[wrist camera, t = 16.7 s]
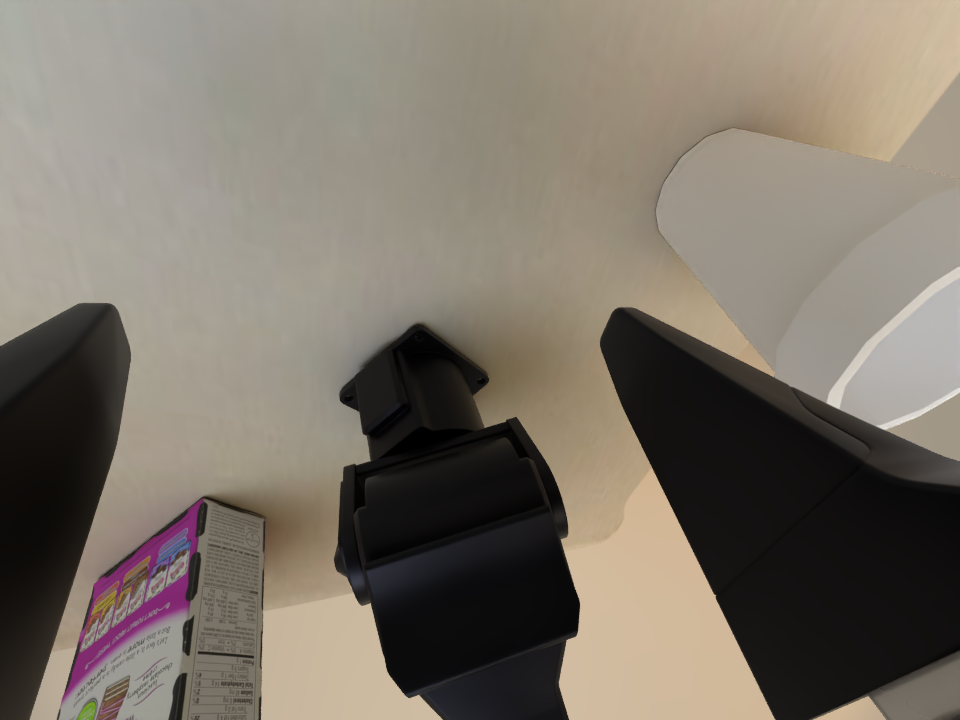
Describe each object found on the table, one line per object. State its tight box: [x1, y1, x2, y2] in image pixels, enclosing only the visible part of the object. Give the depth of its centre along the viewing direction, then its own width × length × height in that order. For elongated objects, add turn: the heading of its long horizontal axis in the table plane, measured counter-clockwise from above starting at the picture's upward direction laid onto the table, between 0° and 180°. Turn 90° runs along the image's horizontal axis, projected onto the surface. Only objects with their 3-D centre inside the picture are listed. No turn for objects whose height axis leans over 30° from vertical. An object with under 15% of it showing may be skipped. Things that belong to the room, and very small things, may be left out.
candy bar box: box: [57, 498, 265, 720], centre depth 26 cm, size 11×5×16 cm, turn 124°
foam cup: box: [656, 128, 960, 430], centre depth 20 cm, size 10×9×13 cm
